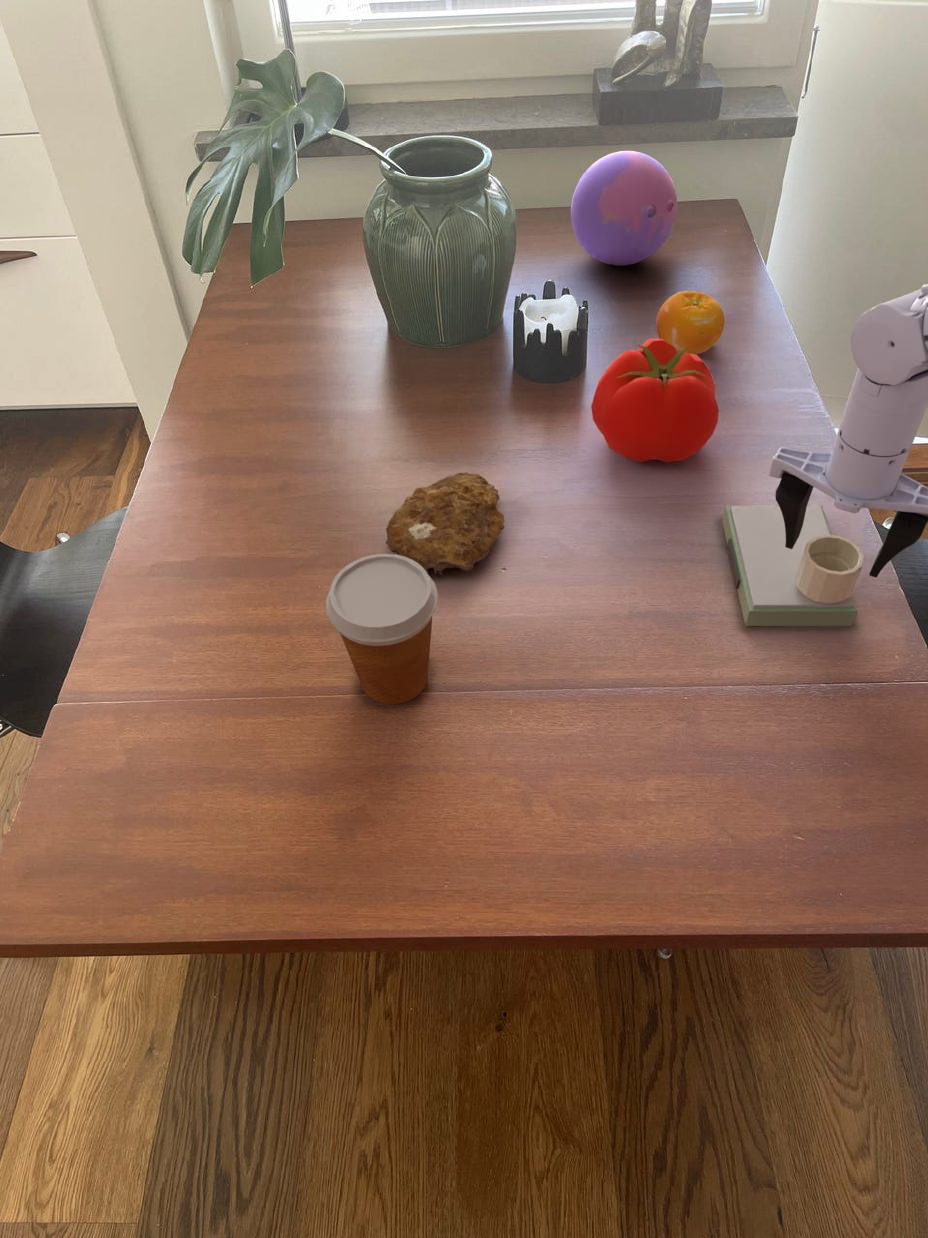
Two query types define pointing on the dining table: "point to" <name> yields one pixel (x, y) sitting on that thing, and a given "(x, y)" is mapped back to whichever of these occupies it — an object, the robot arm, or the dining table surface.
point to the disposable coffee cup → (385, 623)
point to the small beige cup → (829, 569)
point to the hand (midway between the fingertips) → (833, 555)
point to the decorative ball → (624, 208)
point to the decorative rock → (447, 523)
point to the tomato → (656, 403)
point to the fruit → (690, 322)
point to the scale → (776, 568)
